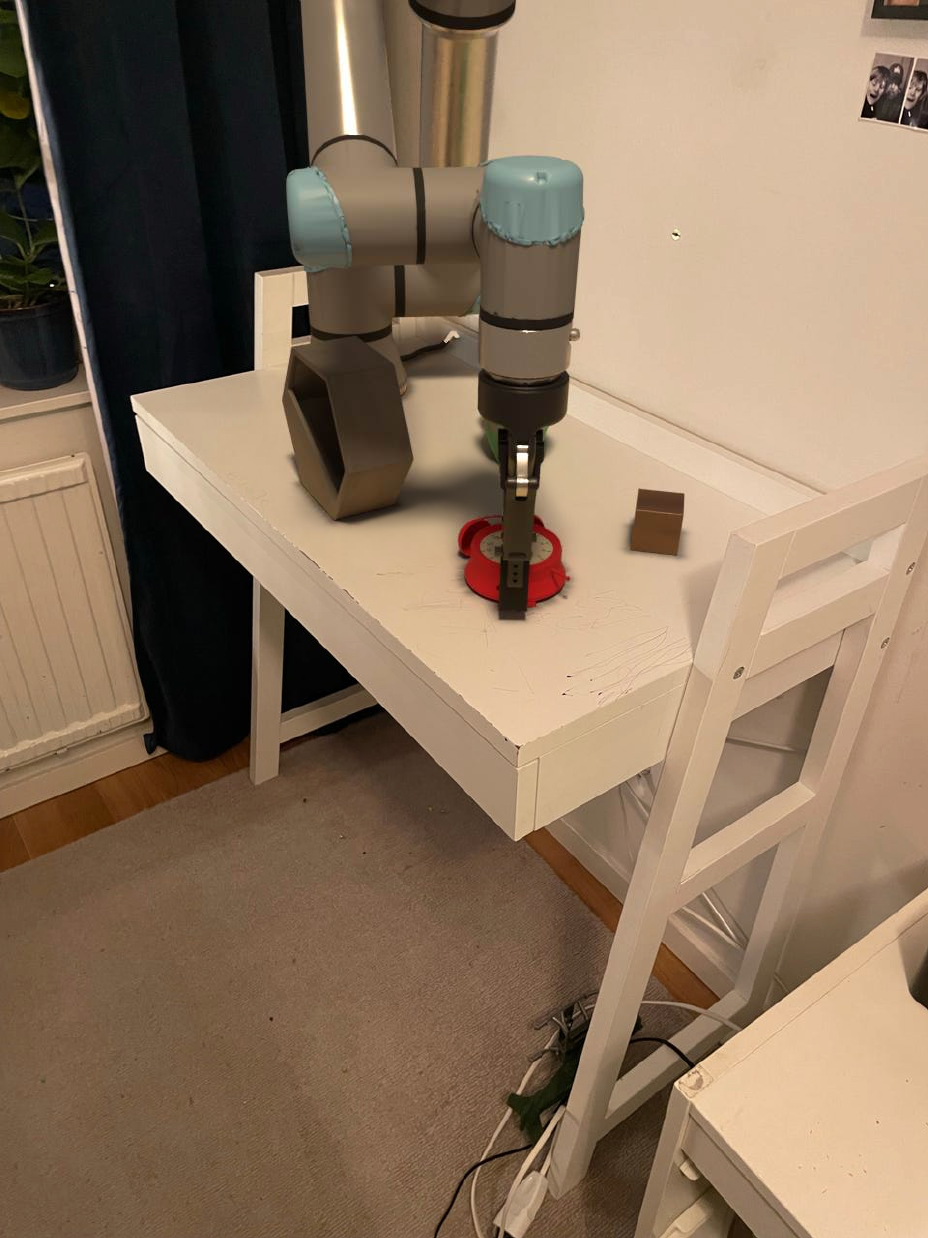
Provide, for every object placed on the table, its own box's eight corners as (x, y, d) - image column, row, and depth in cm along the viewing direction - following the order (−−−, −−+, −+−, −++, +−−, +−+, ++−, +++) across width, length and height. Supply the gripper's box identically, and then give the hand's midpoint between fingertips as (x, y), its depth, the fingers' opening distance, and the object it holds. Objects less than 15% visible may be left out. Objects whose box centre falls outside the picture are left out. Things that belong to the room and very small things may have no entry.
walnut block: (633, 527, 105) (638, 488, 103) (678, 532, 105) (684, 492, 102) (630, 550, 101) (635, 509, 99) (677, 555, 101) (683, 514, 98)
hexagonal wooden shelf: (276, 426, 116) (297, 311, 97) (334, 414, 119) (364, 301, 101) (326, 543, 111) (357, 445, 93) (385, 527, 114) (426, 429, 96)
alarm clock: (484, 587, 89) (446, 486, 98) (478, 631, 93) (443, 530, 103) (587, 573, 91) (541, 475, 100) (577, 616, 95) (533, 519, 105)
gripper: (575, 399, 71) (555, 648, 85) (565, 343, 82) (548, 571, 95) (477, 398, 71) (472, 646, 85) (479, 341, 82) (474, 570, 95)
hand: (512, 606), depth 90 cm, fingers closed
